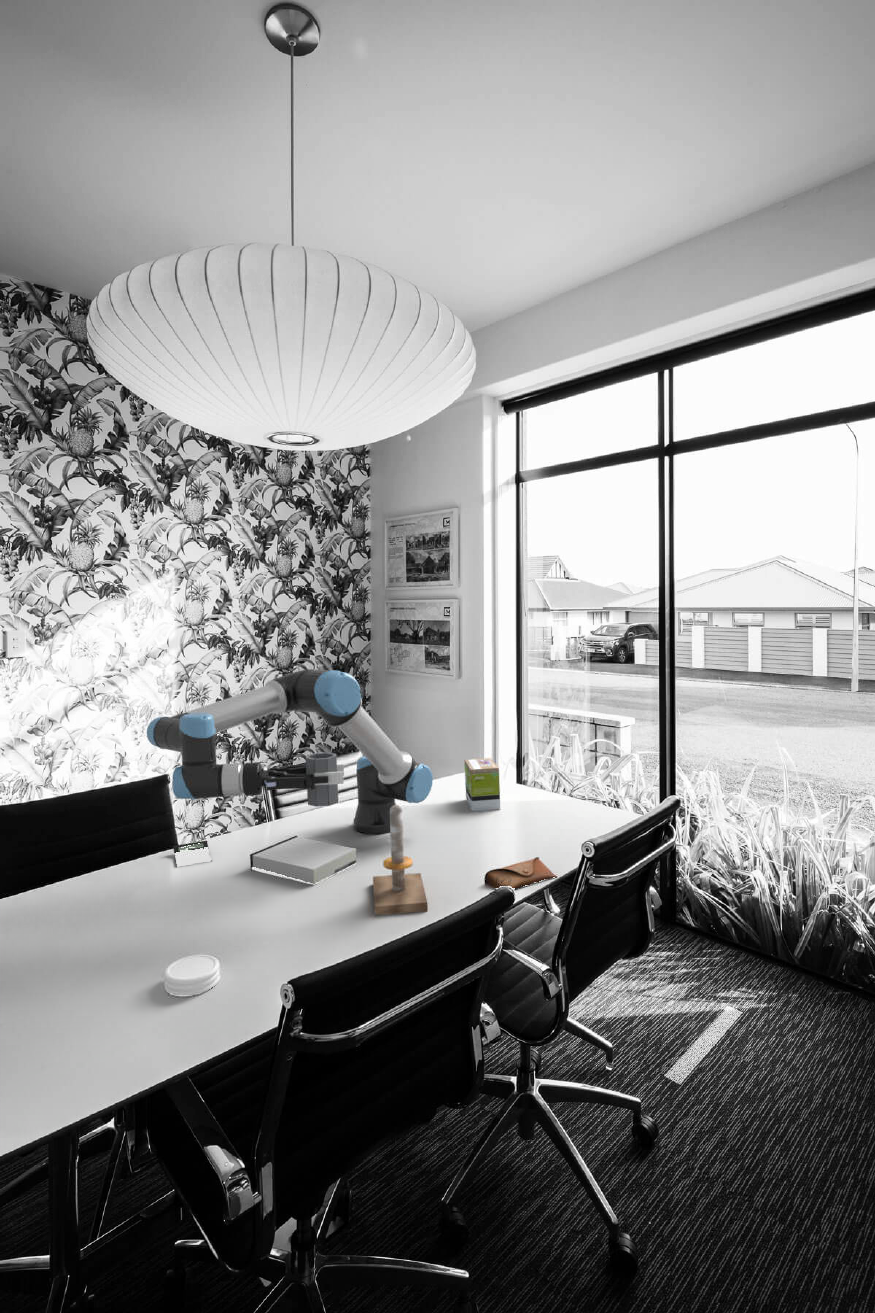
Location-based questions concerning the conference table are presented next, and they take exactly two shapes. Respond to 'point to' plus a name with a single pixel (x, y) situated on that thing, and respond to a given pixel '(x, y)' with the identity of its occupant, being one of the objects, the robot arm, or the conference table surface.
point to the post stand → (398, 876)
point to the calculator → (196, 845)
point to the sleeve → (322, 793)
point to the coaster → (192, 975)
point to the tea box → (482, 784)
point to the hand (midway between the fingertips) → (343, 773)
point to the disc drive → (304, 859)
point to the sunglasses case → (518, 874)
